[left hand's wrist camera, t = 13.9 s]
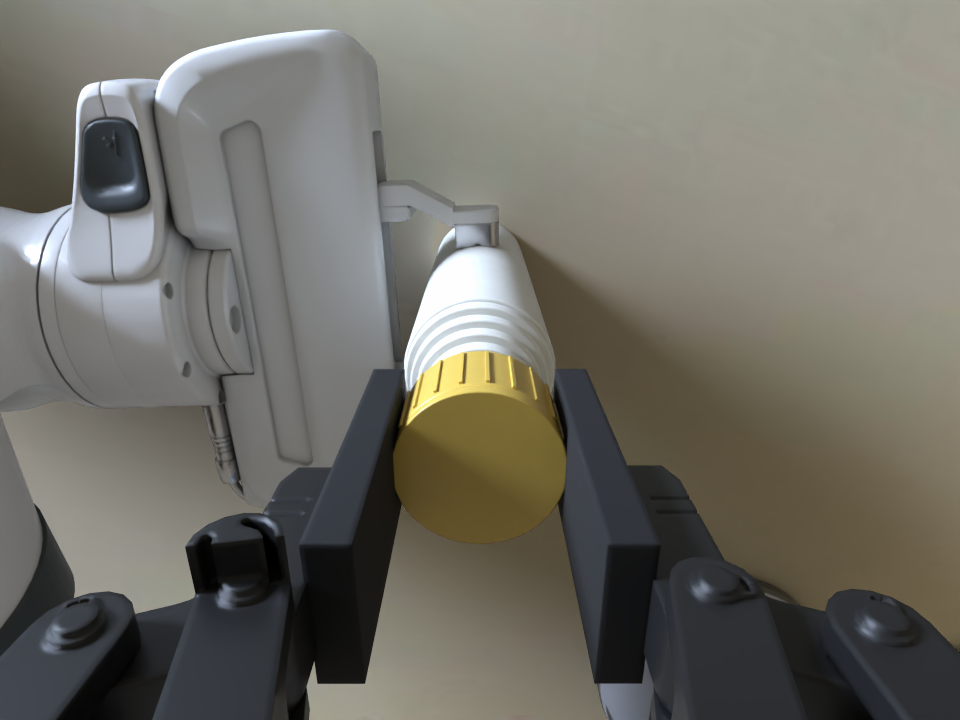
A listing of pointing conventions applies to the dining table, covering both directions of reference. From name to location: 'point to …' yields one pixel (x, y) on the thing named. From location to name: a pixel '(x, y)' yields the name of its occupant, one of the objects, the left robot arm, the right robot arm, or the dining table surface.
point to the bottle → (479, 309)
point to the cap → (479, 449)
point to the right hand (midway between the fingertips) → (500, 293)
